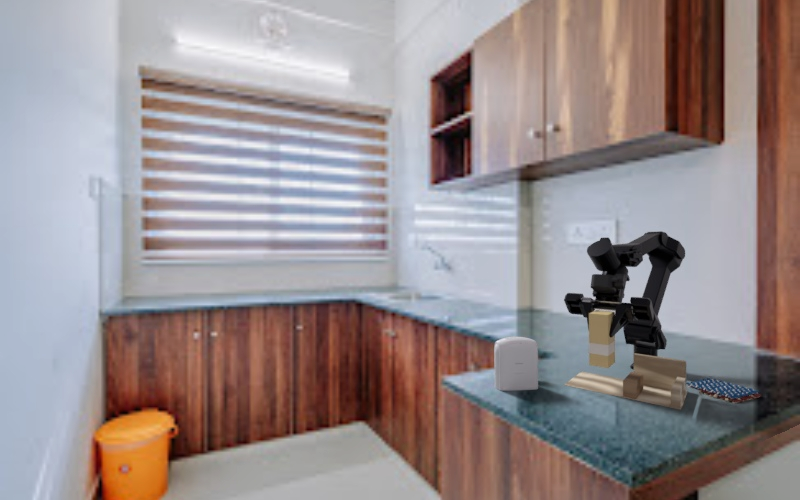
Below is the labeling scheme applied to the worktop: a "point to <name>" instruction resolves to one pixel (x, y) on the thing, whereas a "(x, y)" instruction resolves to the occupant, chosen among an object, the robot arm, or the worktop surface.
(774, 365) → the worktop surface
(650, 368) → the wooden blocks on plank
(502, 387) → the photo printer
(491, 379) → the worktop surface
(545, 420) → the worktop surface
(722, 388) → the woven mat
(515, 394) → the worktop surface
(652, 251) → the robot arm
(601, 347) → the tea box
